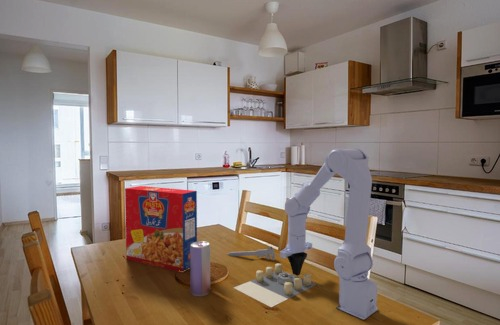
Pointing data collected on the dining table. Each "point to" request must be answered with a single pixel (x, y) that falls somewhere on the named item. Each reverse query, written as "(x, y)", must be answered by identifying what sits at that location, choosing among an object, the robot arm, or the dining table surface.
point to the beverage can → (200, 268)
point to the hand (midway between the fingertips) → (296, 274)
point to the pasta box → (160, 226)
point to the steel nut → (284, 278)
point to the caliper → (256, 253)
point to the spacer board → (274, 286)
